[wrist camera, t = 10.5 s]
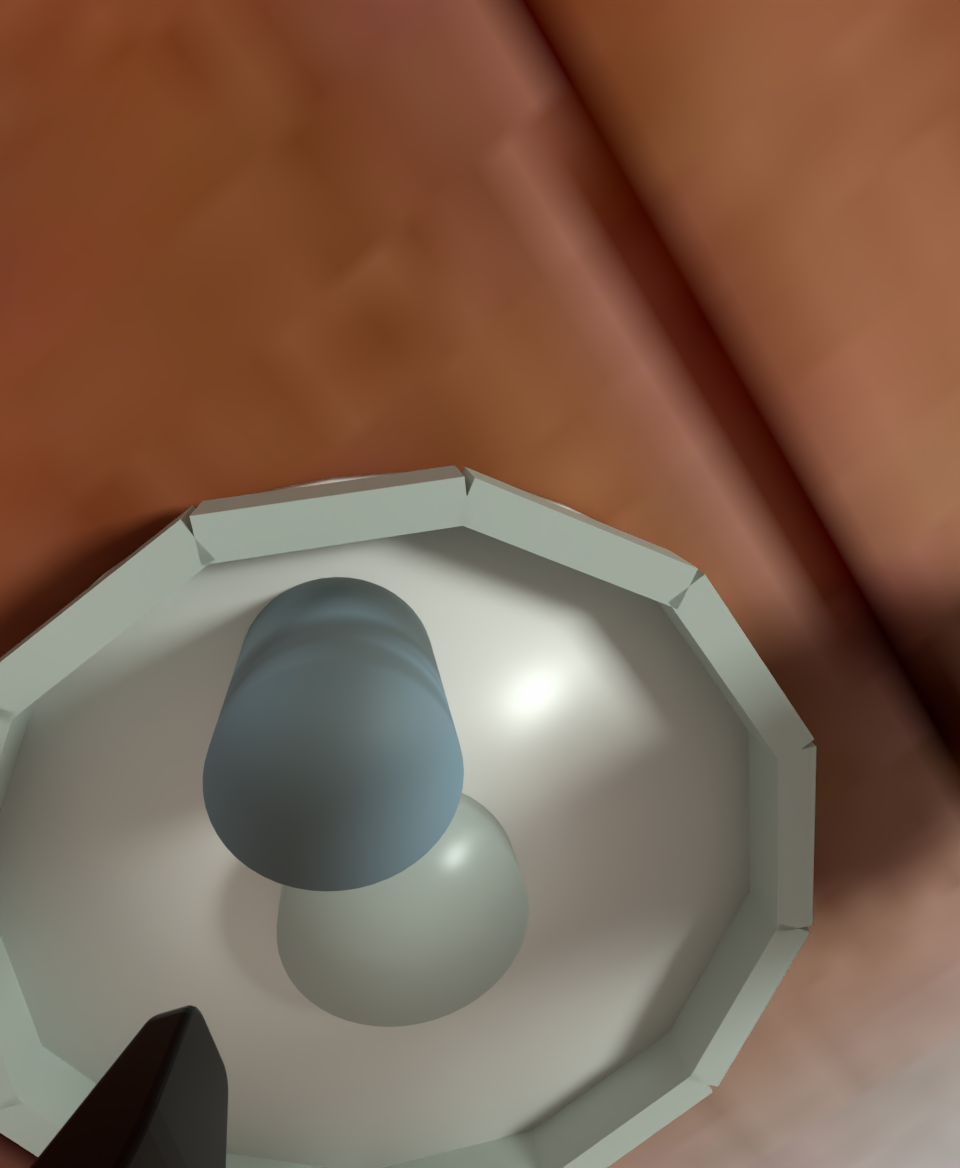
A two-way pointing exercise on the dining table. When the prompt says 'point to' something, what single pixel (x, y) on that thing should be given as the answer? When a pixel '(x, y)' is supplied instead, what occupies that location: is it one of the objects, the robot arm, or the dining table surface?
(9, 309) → the dining table surface
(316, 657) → the blue-grey short cylinder
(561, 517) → the tray
